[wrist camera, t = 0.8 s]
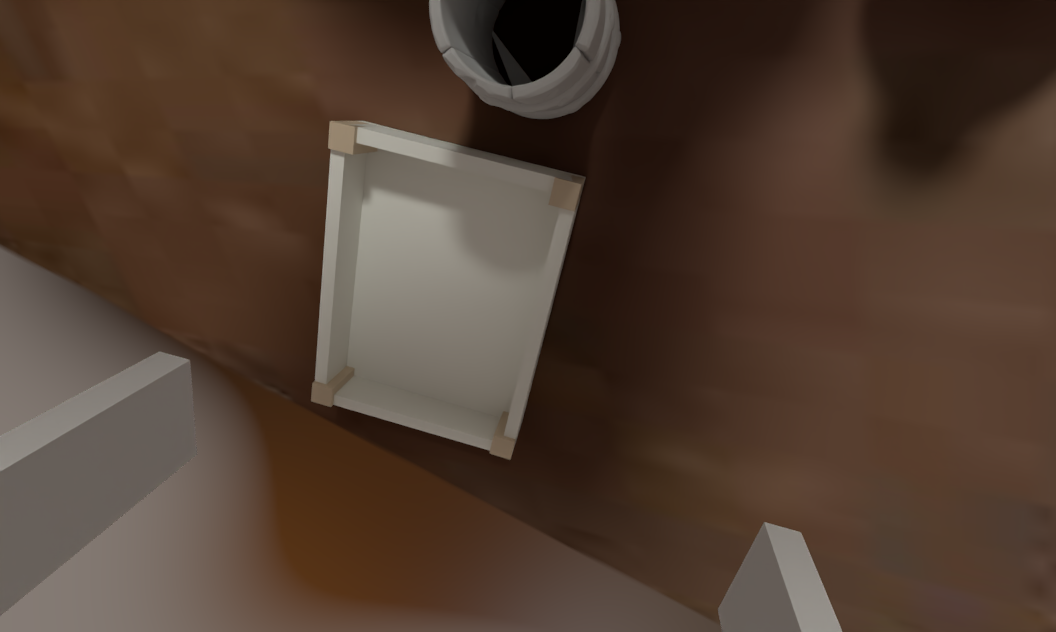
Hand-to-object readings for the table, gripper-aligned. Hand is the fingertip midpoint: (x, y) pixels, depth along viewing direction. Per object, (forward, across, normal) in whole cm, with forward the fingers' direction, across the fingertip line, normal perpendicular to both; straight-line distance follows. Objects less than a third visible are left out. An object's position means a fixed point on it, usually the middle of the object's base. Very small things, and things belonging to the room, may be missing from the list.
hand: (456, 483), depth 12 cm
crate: (+21, -6, -4) cm, 23 cm away
